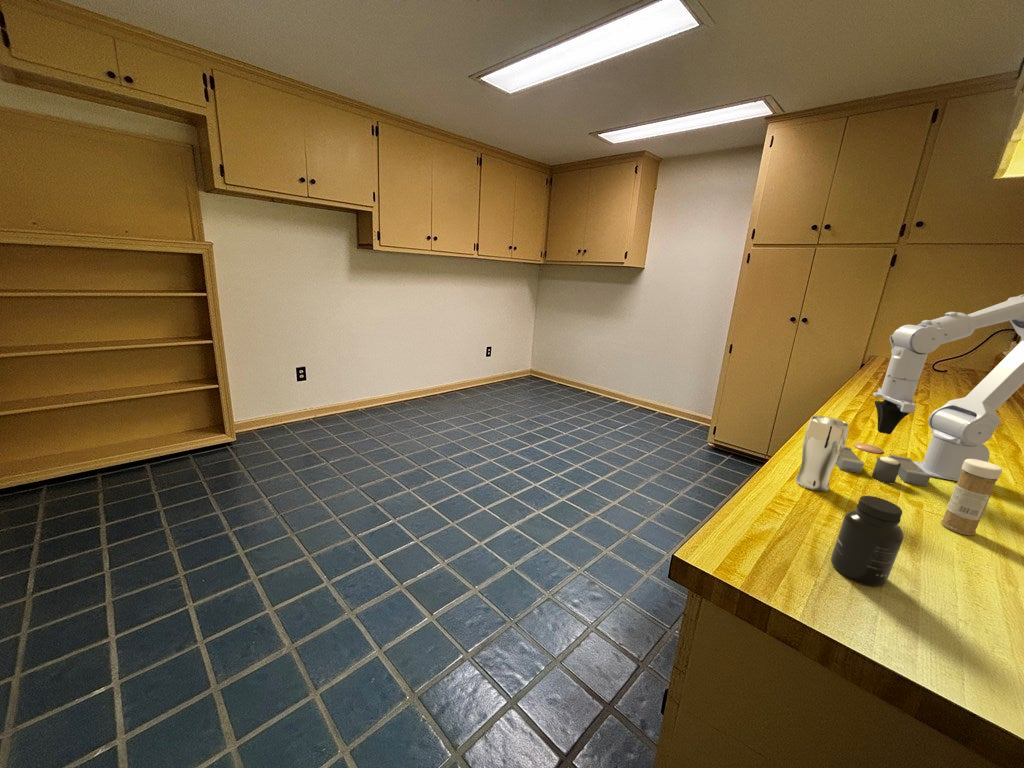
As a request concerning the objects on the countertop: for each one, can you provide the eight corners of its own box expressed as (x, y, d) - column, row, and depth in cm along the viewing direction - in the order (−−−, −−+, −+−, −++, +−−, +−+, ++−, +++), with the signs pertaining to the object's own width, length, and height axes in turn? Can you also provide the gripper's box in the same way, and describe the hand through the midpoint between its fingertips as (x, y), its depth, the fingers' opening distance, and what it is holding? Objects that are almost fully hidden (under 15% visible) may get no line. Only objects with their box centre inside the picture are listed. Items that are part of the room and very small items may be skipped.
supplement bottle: (818, 556, 66) (839, 491, 63) (857, 556, 67) (879, 491, 63) (856, 589, 59) (881, 517, 56) (899, 588, 60) (926, 517, 57)
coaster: (877, 446, 113) (877, 445, 113) (886, 455, 108) (886, 453, 108) (850, 442, 116) (851, 441, 115) (858, 450, 110) (858, 448, 110)
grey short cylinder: (890, 477, 95) (897, 458, 94) (897, 485, 92) (904, 465, 90) (869, 473, 97) (875, 454, 95) (875, 481, 93) (881, 461, 92)
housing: (906, 468, 101) (909, 458, 100) (926, 486, 92) (930, 475, 91) (828, 453, 107) (831, 443, 106) (840, 469, 98) (843, 459, 97)
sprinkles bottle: (977, 531, 76) (1005, 466, 72) (971, 539, 73) (1000, 471, 69) (942, 518, 79) (968, 455, 76) (936, 525, 77) (962, 460, 73)
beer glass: (826, 482, 91) (845, 419, 87) (834, 496, 85) (855, 429, 81) (789, 474, 94) (806, 412, 90) (795, 487, 88) (813, 422, 84)
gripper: (868, 369, 102) (853, 419, 106) (893, 382, 89) (874, 439, 93) (904, 373, 99) (887, 425, 103) (935, 387, 86) (914, 446, 90)
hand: (883, 432), depth 98 cm, fingers closed
